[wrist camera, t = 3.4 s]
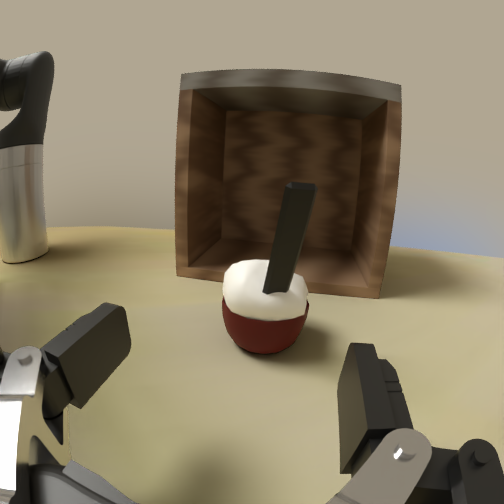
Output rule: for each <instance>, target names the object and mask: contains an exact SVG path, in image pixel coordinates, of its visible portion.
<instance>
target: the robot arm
mask: <svg viewBox="0 0 504 504" xmlns="http://www.w3.org/2000/svg"><path fill="white" fill-rule="evenodd" d="M53 78H54V60H53V57H52V55H51V54H50V53H49V52H46V51H42V52H37V53H33V54H29V55H26V56H22V57H19V58H15V59H11V60H2V59H0V111H11V110H16V109H19V108H21V109H20V112H19V113H18V115H17V116H16V117H15V118H14V120H13V121H12V122H11V123H10V124H8V125H7V126H6V127H5V128H3V129H2V130H1V131H0V253H1V256H2V260H3V261H4V262H8V263H16V262H23V261H27V260H31V259H34V258H37V257H39V256H41V255H43V254H45V253H46V252H47V251H48V250H49V248H48V240H47V232H46V221H45V210H44V195H43V194H44V193H43V139H44V132H45V128H46V121H47V112H48V106H49V100H50V94H51V90H52V84H53ZM130 349H131V338H130V333H129V327H128V322H127V316H126V311H125V309H124V308H123V307H122V306H118V305H114V304H110V303H103V304H101V305H100V306H99V307H97V308H96V309H95V310H94V311H92V312H91V313H89V314H86V315H84V316H82V317H80V318H79V319H78V320H76V321H75V322H74V323H73V325H70V326H69V327H67V328H66V330H63V331H62V332H61V333H60V334H58V335H57V336H56V337H54V338H53V339H52V340H51V341H49V342H48V343H47V344H46V345H44V346H43V347H42V348H41V349H38V348H36V347H34V346H24V347H21V348H18V349H17V350H15V351H14V352H12V354H10V353H6V352H2V349H1V347H0V504H139V503H135V502H133V501H132V500H130V499H129V498H127V497H126V496H125V495H123V494H122V493H121V492H120V491H118V490H117V489H116V488H115V487H113V486H112V485H111V484H110V483H108V482H107V481H106V480H105V479H104V478H102V477H101V476H99V475H97V474H95V473H94V472H92V471H90V470H88V469H86V468H85V467H83V466H81V465H80V464H78V463H76V462H75V461H73V460H72V458H71V455H70V449H69V425H68V410H67V408H66V406H67V405H68V404H69V403H70V404H72V405H74V406H76V407H78V408H80V409H81V408H82V407H83V406H84V405H85V404H86V403H87V401H88V400H89V399H90V398H91V397H92V396H93V394H94V393H95V392H96V391H97V390H98V389H99V388H100V386H101V385H102V384H103V383H104V382H105V381H106V379H107V378H108V377H109V376H110V375H111V374H112V373H113V372H114V370H115V369H116V368H117V367H118V366H119V365H120V364H121V362H122V361H123V360H124V359H125V358H126V357H127V356H128V354H129V352H130ZM337 398H338V414H339V437H340V474H351V478H352V479H351V480H350V481H349V482H348V483H347V484H346V485H345V486H344V487H343V489H342V490H341V491H340V492H339V493H337V494H336V495H335V496H334V497H333V498H331V499H330V500H329V501H328V502H327V503H326V504H504V474H503V470H502V467H501V464H500V460H499V457H498V454H497V452H496V450H495V448H494V447H493V446H492V445H491V444H490V443H489V442H487V441H485V440H482V439H472V440H469V441H467V442H466V443H465V444H464V445H463V446H462V447H461V448H460V449H459V450H450V449H442V448H436V447H432V446H431V444H430V442H429V440H428V439H427V438H426V437H425V436H424V435H423V434H422V433H420V432H418V431H416V430H414V428H413V425H412V421H411V418H410V414H409V411H408V407H407V404H406V401H405V398H404V394H403V393H402V388H401V385H400V383H399V379H398V376H397V373H396V370H395V369H394V367H393V366H392V365H391V364H390V363H389V362H388V361H387V360H386V359H378V357H377V353H376V350H375V347H374V345H373V344H366V343H350V345H349V348H348V351H347V355H346V358H345V361H344V365H343V368H342V371H341V374H340V378H339V382H338V389H337Z"/></svg>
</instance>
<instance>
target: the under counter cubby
mask: <svg viewBox="0 0 504 504" xmlns="http://www.w3.org/2000/svg"><path fill="white" fill-rule="evenodd" d="M401 103H402V101H401V85H398V84H394V83H389V82H384V81H380V80H374V79H369V78H363V77H357V76H350V75H343V74H334V73H326V72H315V71H303V70H284V69H239V70H238V69H236V70H219V71H218V70H217V71H204V72H194V73H185V74H181V83H180V94H179V108H178V122H177V139H176V165H175V247H176V273H177V276H183V277H190V278H197V279H204V280H211V281H219V282H224V274H225V272H226V271H227V270H228V269H229V268H230V266H231V265H232V264H235V263H238V262H240V261H245V260H255V259H257V260H270V255H271V251H272V246H273V241H274V237H275V232H276V228H277V223H278V218H279V214H280V209H281V204H282V199H283V195H284V190H285V186H286V185H287V184H289V183H290V182H301V183H312V184H315V185H316V186H317V188H318V191H317V194H316V198H315V202H314V206H313V209H312V213H311V217H310V220H309V224H308V227H307V231H306V234H305V238H304V241H303V245H302V248H301V252H300V255H299V258H298V262H297V265H296V268H295V272H294V273H295V274H297V275H300V276H302V277H303V279H304V281H305V283H306V286H307V289H308V292H312V293H322V294H332V295H343V296H353V297H365V298H377V299H378V298H379V293H380V289H381V285H382V280H383V276H384V271H385V266H386V261H387V256H388V250H389V245H390V239H391V233H392V226H393V220H394V213H395V204H396V197H397V187H398V177H399V165H400V149H401V148H400V147H401V120H402V118H401V117H402V113H401V112H402V107H401V106H402V104H401Z"/></svg>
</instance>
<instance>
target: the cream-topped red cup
mask: <svg viewBox="0 0 504 504" xmlns="http://www.w3.org/2000/svg"><path fill="white" fill-rule="evenodd" d="M317 191H318V188H317V186H316V185H315V184H312V183H301V182H290V183H289V184H287V185H286V186H285V190H284V195H283V199H282V204H281V209H280V214H279V218H278V223H277V228H276V232H275V237H274V241H273V246H272V251H271V255H270V260H257V259H255V260H245V261H240V262H238V263H235V264H232V265H231V266H230V268H229V269H228V270H227V271H226V272H225V274H224V282H223V290H222V291H223V300H222V311H223V318H224V323H225V326H226V329H227V332H228V334H229V335H230V336H231V338H232V339H233V340H234V342H235V343H236V344H237V345H238V346H240V347H242V348H244V349H246V350H247V351H249V352H255V353H261V354H268V353H276V352H280V351H282V350H284V349H286V348H287V347H289V346H290V345H292V344H293V343H294V342H295V340H296V338H297V337H298V335H299V333H300V331H301V329H302V327H303V325H304V323H305V320H306V318H307V314H308V309H309V303H308V301H307V295H308V289H307V286H306V283H305V281H304V279H303V277H302V276H300V275H297V274H295V273H294V272H295V268H296V265H297V262H298V258H299V255H300V252H301V248H302V245H303V241H304V238H305V234H306V231H307V227H308V224H309V220H310V217H311V213H312V209H313V206H314V202H315V198H316V194H317Z"/></svg>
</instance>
